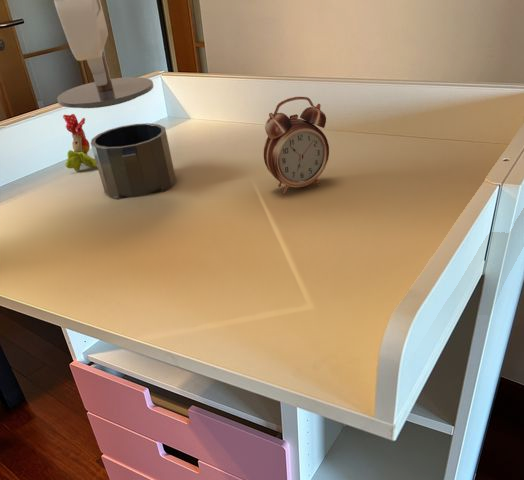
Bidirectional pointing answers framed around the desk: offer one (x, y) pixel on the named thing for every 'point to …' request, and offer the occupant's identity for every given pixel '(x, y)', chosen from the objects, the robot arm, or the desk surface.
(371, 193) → the desk surface
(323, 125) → the alarm clock
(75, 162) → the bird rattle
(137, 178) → the pot
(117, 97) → the lid
